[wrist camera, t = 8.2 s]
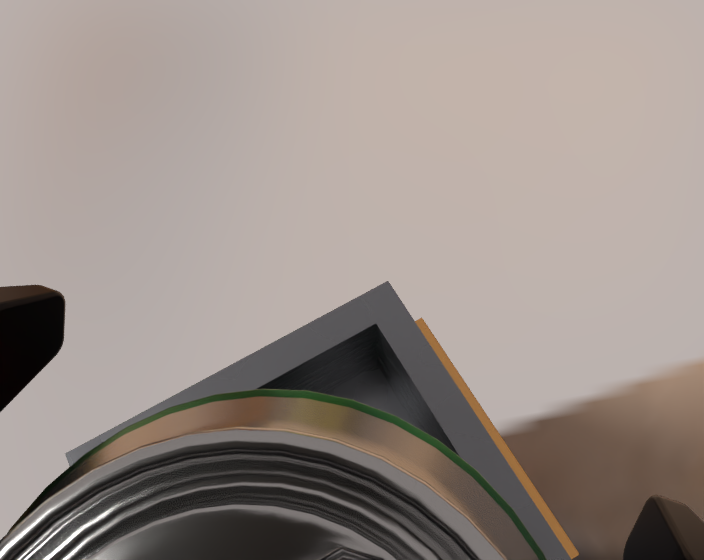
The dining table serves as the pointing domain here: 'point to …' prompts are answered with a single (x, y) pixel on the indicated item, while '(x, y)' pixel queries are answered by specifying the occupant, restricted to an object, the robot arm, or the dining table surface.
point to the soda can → (270, 490)
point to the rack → (384, 393)
